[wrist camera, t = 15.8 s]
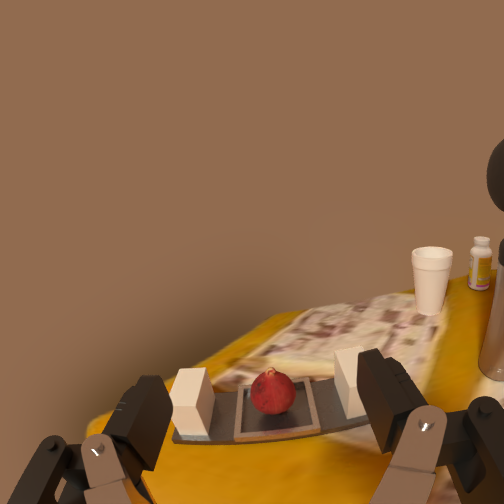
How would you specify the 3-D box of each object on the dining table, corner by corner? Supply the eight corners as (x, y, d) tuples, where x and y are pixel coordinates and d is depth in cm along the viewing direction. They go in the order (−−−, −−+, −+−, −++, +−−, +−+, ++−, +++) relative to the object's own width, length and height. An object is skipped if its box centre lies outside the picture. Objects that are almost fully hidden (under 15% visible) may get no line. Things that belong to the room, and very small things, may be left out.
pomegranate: (265, 432, 29) (256, 390, 27) (248, 407, 34) (237, 365, 33) (305, 414, 31) (302, 371, 29) (284, 392, 36) (278, 350, 35)
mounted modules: (358, 375, 36) (360, 344, 35) (375, 411, 28) (381, 379, 27) (191, 396, 38) (180, 367, 37) (179, 434, 30) (164, 405, 28)
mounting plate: (362, 374, 38) (363, 365, 37) (384, 420, 27) (386, 411, 27) (188, 397, 39) (184, 388, 39) (173, 445, 29) (168, 436, 28)
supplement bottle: (492, 286, 50) (497, 238, 47) (481, 293, 49) (486, 243, 46) (475, 279, 56) (478, 234, 53) (463, 286, 55) (466, 238, 52)
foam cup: (407, 301, 57) (408, 247, 54) (441, 298, 53) (444, 245, 50) (413, 320, 48) (417, 260, 45) (452, 316, 45) (458, 257, 42)
